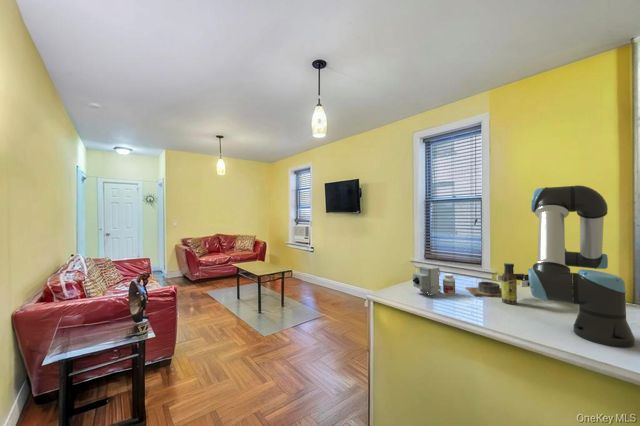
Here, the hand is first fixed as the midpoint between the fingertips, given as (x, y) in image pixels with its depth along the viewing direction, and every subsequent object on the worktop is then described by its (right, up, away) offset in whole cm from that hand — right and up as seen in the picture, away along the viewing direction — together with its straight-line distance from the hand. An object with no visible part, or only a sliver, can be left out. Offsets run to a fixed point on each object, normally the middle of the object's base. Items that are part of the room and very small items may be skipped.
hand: (508, 280), depth 135 cm
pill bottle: (-22, -12, +16) cm, 30 cm away
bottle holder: (0, -11, +16) cm, 20 cm away
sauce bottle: (0, -11, -1) cm, 11 cm away
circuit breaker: (-35, -12, +18) cm, 41 cm away
